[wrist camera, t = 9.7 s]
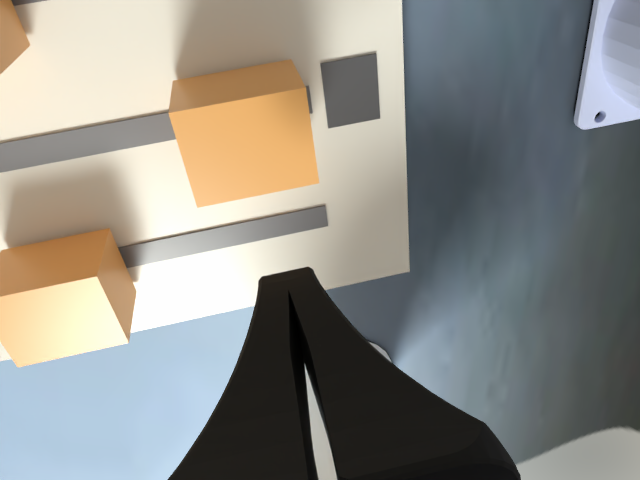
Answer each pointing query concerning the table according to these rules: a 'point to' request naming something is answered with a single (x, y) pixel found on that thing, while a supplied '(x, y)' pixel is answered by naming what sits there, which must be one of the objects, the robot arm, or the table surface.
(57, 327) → the tab far
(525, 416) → the table surface
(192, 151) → the tab middle
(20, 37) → the orange block
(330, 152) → the switch board
